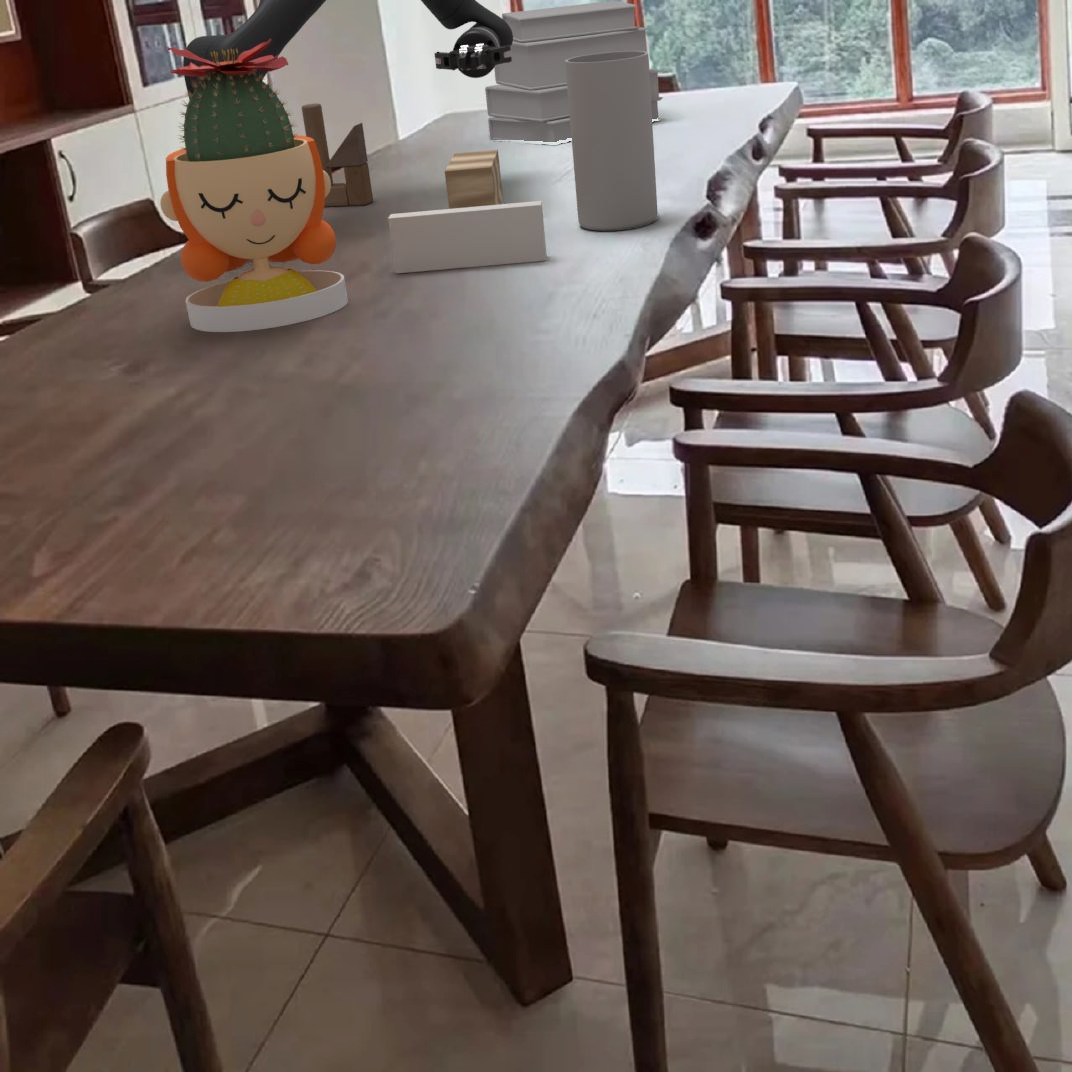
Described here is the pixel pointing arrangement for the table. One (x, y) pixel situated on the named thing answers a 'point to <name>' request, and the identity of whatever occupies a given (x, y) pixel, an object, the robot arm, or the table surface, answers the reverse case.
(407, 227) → the board
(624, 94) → the cylinder vase
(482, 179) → the maple block
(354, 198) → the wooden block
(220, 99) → the potted cactus
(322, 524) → the table surface
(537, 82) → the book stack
